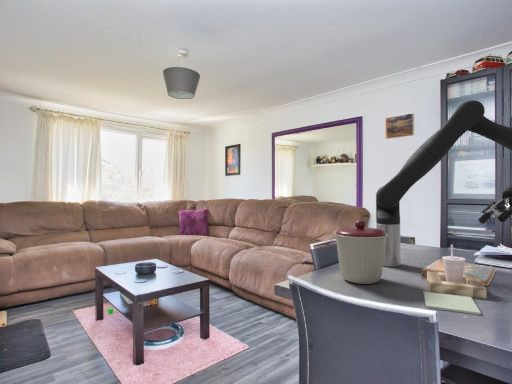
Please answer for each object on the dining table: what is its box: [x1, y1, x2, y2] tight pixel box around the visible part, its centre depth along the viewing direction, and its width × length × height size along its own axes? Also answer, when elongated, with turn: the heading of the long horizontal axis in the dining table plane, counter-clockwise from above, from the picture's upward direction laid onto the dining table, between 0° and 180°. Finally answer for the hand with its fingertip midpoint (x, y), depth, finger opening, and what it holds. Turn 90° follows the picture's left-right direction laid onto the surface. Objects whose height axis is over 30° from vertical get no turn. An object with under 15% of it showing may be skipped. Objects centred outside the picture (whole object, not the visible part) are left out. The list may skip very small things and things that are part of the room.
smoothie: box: [441, 244, 467, 283], centre depth 97 cm, size 6×6×14 cm
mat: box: [423, 291, 482, 316], centre depth 85 cm, size 12×12×1 cm
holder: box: [426, 270, 487, 300], centre depth 97 cm, size 14×14×3 cm
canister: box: [333, 219, 388, 285], centre depth 107 cm, size 18×18×21 cm
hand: (489, 221), depth 103 cm, fingers open, 8 cm apart
